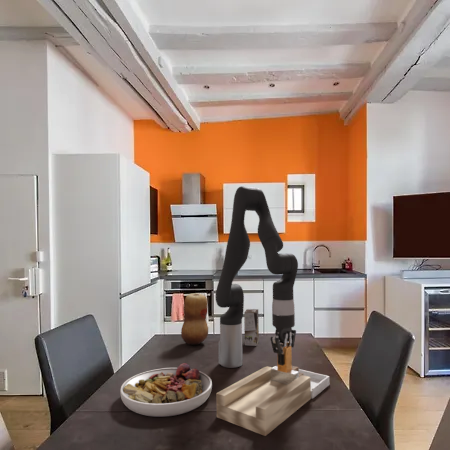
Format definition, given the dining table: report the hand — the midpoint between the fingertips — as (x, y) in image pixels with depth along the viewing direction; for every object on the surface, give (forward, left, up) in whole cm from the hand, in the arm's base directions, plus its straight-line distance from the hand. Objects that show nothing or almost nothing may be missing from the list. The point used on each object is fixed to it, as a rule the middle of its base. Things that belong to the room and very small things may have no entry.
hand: (284, 362), depth 123 cm
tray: (0, +9, -10) cm, 14 cm away
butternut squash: (-64, +24, -11) cm, 69 cm away
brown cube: (0, +6, -8) cm, 10 cm away
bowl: (-30, -26, -11) cm, 41 cm away
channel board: (0, -12, -10) cm, 16 cm away
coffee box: (-42, +42, -11) cm, 60 cm away
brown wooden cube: (0, +4, -6) cm, 7 cm away
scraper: (0, 0, -6) cm, 6 cm away
